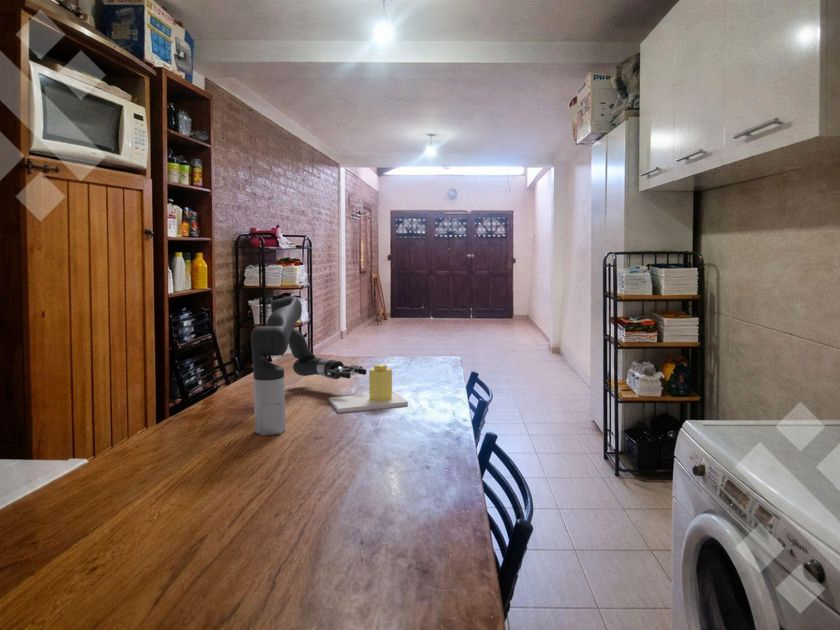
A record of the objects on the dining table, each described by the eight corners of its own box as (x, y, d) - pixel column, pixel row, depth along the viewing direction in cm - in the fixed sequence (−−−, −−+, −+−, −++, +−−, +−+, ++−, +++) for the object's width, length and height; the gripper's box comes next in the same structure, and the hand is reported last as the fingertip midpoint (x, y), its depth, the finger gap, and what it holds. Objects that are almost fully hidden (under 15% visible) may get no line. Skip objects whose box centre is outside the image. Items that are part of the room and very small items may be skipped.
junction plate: (407, 405, 194) (407, 385, 193) (338, 412, 185) (337, 392, 184) (394, 395, 209) (394, 376, 208) (329, 401, 200) (329, 382, 199)
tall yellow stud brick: (391, 398, 199) (391, 365, 197) (381, 401, 194) (380, 367, 193) (380, 395, 203) (380, 363, 201) (369, 398, 198) (369, 365, 197)
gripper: (316, 362, 209) (344, 367, 198) (343, 357, 220) (370, 361, 209) (316, 380, 209) (344, 386, 199) (343, 374, 220) (371, 380, 210)
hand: (358, 373), depth 204 cm, fingers open, 8 cm apart
